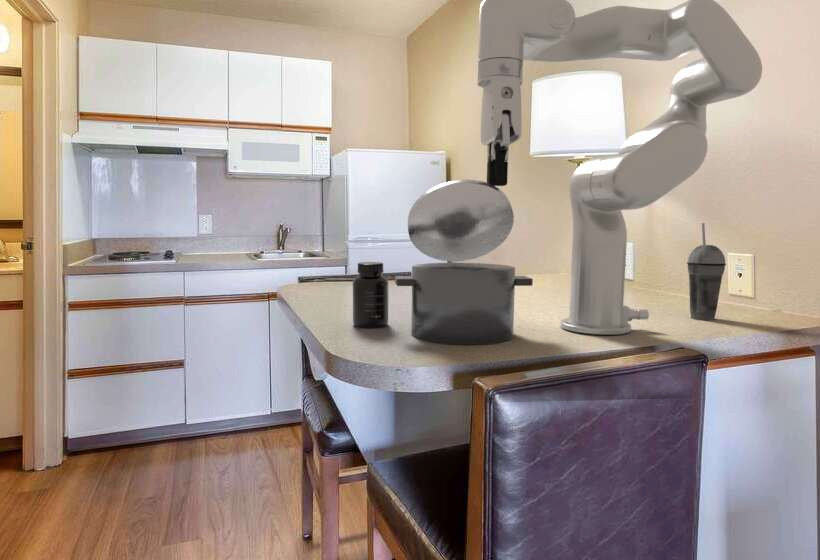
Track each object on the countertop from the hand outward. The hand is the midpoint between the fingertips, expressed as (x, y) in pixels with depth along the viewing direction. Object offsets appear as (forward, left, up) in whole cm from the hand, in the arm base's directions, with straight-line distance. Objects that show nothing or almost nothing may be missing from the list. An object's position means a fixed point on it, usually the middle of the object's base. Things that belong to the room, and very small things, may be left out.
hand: (496, 185), depth 96 cm
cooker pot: (+5, -1, -26) cm, 27 cm away
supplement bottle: (+21, -10, -26) cm, 35 cm away
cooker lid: (+5, -4, -7) cm, 10 cm away
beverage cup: (-49, -14, -26) cm, 57 cm away
